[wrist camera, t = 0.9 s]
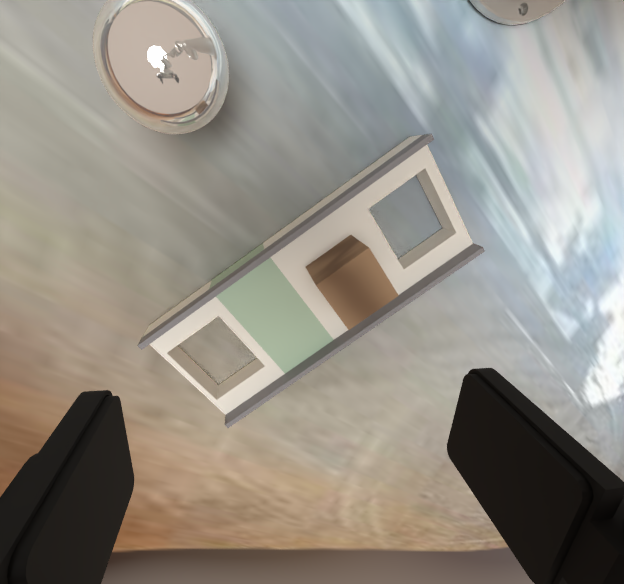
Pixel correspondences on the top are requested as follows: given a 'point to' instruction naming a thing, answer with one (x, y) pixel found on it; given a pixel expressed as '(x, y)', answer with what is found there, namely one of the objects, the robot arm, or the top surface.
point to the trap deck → (312, 284)
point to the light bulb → (161, 63)
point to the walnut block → (352, 281)
